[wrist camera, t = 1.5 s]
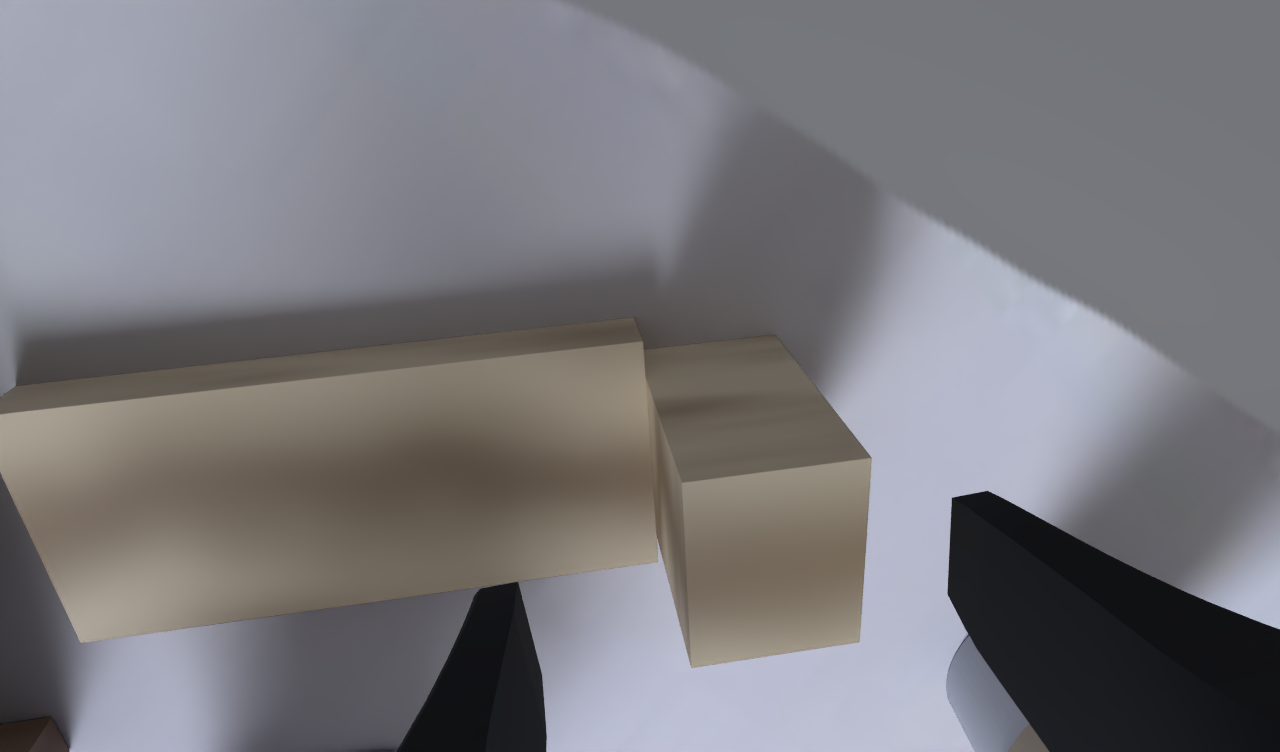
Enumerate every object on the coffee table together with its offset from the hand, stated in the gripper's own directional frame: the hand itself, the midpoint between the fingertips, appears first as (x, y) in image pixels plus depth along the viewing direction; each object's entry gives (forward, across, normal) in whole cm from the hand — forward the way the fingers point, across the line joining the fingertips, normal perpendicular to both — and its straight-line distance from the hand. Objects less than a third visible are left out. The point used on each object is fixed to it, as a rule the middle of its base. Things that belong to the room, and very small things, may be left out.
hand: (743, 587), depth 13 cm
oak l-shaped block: (+10, +7, +2) cm, 13 cm away
